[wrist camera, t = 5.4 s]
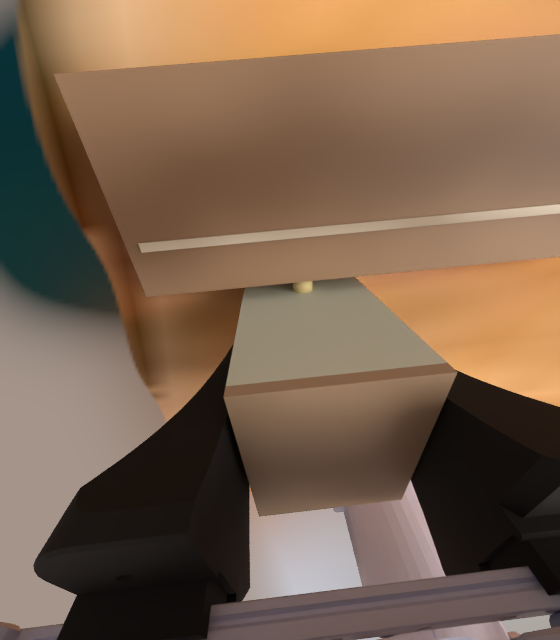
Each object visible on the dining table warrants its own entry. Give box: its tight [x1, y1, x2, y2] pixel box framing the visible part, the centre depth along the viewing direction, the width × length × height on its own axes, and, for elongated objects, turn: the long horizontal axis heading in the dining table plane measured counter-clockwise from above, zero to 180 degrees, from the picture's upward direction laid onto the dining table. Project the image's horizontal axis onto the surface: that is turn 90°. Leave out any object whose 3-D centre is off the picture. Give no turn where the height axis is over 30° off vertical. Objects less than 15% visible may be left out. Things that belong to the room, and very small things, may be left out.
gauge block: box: [224, 277, 457, 516], centre depth 9 cm, size 6×5×7 cm
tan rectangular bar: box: [54, 34, 560, 297], centre depth 8 cm, size 6×20×3 cm, turn 94°
